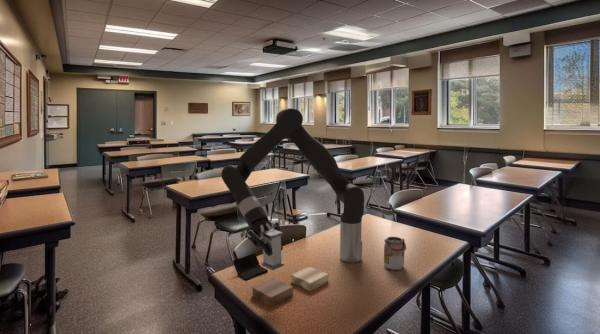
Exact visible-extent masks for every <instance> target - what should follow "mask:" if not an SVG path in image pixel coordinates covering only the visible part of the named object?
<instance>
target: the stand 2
mask: <svg viewBox="0 0 600 334" xmlns="http://www.w3.org/2000/svg"><path fill="white" fill-rule="evenodd" d="M329 278H330V277H329V274H328V273H326V272H324V271H323V270H319V269H317V268H314V267H311V266H306V267H305V268H303V269H300V270H298V271H296V272H294V273H291V275H290V282H291V283H292V284H294V285H295V286H296V285H297V286H299V287H301V288H303V289H305V290H307V291H308V292H309V291H310V292H311V291H314V290H316V289H318V288H319V287H321V286H323V285H324V284H327V283H328V282H329V281H330V280H329Z"/></svg>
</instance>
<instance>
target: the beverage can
mask: <svg viewBox="0 0 600 334" xmlns="http://www.w3.org/2000/svg"><path fill="white" fill-rule="evenodd" d="M406 250H407V245H406V243H405V239H404V238H401V237H398V236H388V237H387V238H386V239H384V244H383V266H384V267H385V268H386V269H387V268H388V269H387V270H389V269H390V270H389V271H394V270H397V271H401V270H403V268H404V267H405V252H406Z"/></svg>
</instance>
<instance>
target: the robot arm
mask: <svg viewBox="0 0 600 334" xmlns="http://www.w3.org/2000/svg"><path fill="white" fill-rule="evenodd" d="M303 121H304V119H303V114H302V112H301V111H300V110H299V109H297V108H293V107H290V108H289V107H288V108H285V109H282V110H280V111H279V112H278V113H277V115H276V117H275V124H274V125H273V126H272V127H271V128H270V130H268V131H267V132H266V133H265V134H263V135H262V136H261V137H260V138H258V139H257V140H256V141H255V142H254V143H253V144H251V145H250V146H249V147H248V148H247V149H246V150H245V151H244V152H243V153H242V154H240V155H241V156H240V157H239V163H238V164H237V166H235V165H233V164H229V165H226V166H224V167H223V168H222V170H221V174H220V175H221V179H222V181H223V183H224V184H225V186H226V188H227V189H228V190H229V192H230V193H231V195H232V197H233V199H234V200H235V202H236V205H237V207H238V208H239V211H240V213H241V215H242V217H243V218H244V221H245V222H246V224H247V225H248V228H250V230H247V233H246V234H245V237H246V238H247V239H248V240H249V241H250V242H251V243H252V244H253V245H254V247H256V248H259V247H260V248H262V250H263V249H264V251H265V253H266V254H267V255H268V256H270V255H271V254H272V253H273V252H272V250H271V249H270V247H269V245H268V244H266V243H267V242H266V239H265V237H264V236H263V235H262V234H261V235H260V232H261V233H262V232H264V231H266V230H271V229H274V230H277V231H280V232H282V231H281V228H280V224H279V222H275V223H274V222H273V223H272V222H271V221H270V220H269V217H268V214H267V213H266V211H265V210H264V208H263V206H262V204H261V202H260V201H259V200H258V198H257V197H256V196H255V193H254V192H253V190H252V189H251V187H250V186H249V185H248V184H247V183H246V182H247V180H248V179H249V177H250V176H251V174H252V173H253V170H254V169H255V168H256V167H257V166H259V164H261V162H262V161H263V160H264V159H265V158H266V157H267V156H268V155H269V154H270V153H271V152H272V151H273V150H274V149H275V147H277V146H278V145H279V144H280V143H281V142H282V141H284V140H285V139H286V138H288V139H290V141H292V143H294V145H295V146H296V147H297V149H298V150H299V152H301V154H302V155H303V156H304V158H305V159H306V160H307V162H308V163H309V164H310V165H311V167H312V168H313V169H314V170H315V171H316V172H317V173H318V174H319V176H320V177H322V178H323V179H324V180H325V181H326V182H327V184H328V185H329V186H330V187H331V188H332V190H333V191H334V193H335V195H336V196H337V198H338V199H339V201H341V203H342V204H343V212H342V213H341V214H340V217H339V218H340V219H339V220H340V221H339V222H340V224H339V225H340V227H339V228H340V229H339V258H340V261H342V262H346V263H357V262H363V239H362V224H363V223H362V221H363V220H362V219H363V216H364V212H365V193H364V190H363V188H361V187H360V186H358V185H355V184H353V183H352V182H351V181H350V180H349V179H348V178H346V176H344V174H343V173H342V171H341V169H340V168H339V165H338V164H337V161H336V159H335V158H334V156H333V155H332V154H331V152H329V149H327V148H326V146H324V144H322V143H321V142H320V141H318V139H316V138H315V137H313V136H312V135H311V134H310V133H309V132H308V131H307V130H306V129H305V128H304V127H303V125H302V124H303ZM283 249H284V246H283V245H282V244H281V252H282V251H283Z"/></svg>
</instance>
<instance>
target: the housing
mask: <svg viewBox="0 0 600 334" xmlns="http://www.w3.org/2000/svg"><path fill="white" fill-rule="evenodd" d="M280 231H281V230H280ZM280 231H277V230H274V229H273V228H272V229H271V230H266V231H264V232H262V233H261V232H260V235H261V234H262V235H263V236H264V237H265V239H266V242H267V243H266V244H268V245H269V247H270V249H271V250H272V252H273V253H272V254H271V255H270V256H268V255H267V254H266V253H265V251H264V249H263V248H262V255H263V256H262V260H263V261H262V262H261V264H260V266H261V267H263V268H265V269H267V270H268V269H269V270H271V271H275V270H277V269H279V268H282V267H284V266H285V265H284V264H285V263H284V262H283V261H282V251H281V245H282V239H281V238H282V236H283V235H284V233H283V231H281V232H280Z"/></svg>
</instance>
